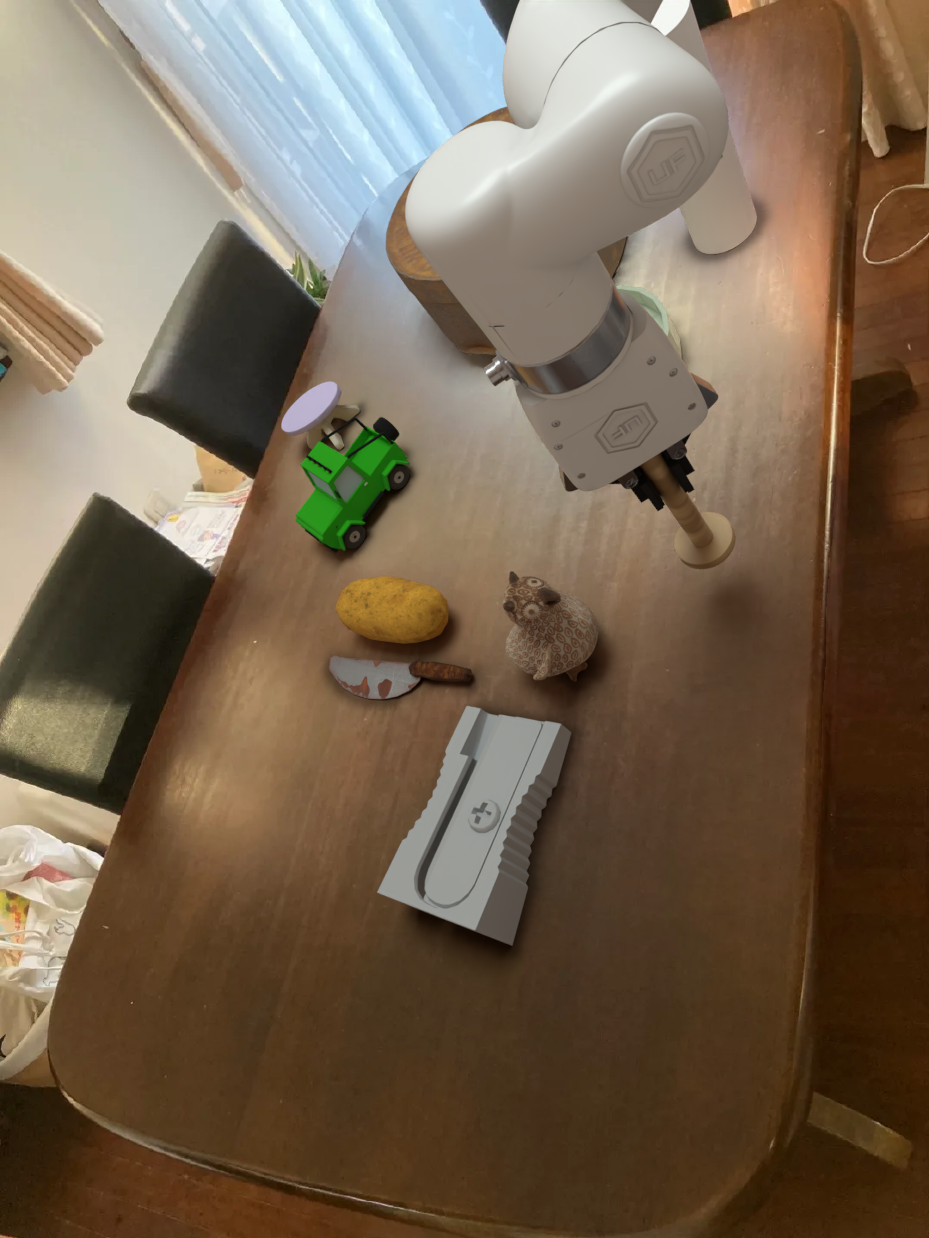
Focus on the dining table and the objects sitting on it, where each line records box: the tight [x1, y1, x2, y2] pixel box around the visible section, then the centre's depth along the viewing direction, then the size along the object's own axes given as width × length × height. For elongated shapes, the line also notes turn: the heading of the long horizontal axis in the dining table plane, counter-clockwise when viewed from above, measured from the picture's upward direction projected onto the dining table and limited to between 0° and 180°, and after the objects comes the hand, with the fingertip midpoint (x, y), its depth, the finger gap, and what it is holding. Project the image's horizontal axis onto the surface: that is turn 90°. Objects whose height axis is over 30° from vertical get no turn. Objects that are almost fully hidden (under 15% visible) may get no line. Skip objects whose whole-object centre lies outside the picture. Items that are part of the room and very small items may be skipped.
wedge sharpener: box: [376, 705, 572, 947], centre depth 76 cm, size 11×20×7 cm, turn 159°
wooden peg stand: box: [639, 453, 737, 570], centre depth 64 cm, size 5×5×15 cm
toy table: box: [280, 381, 361, 451], centre depth 114 cm, size 10×9×6 cm
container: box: [385, 106, 627, 356], centre depth 103 cm, size 28×28×15 cm
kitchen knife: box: [328, 653, 474, 700], centre depth 92 cm, size 21×2×5 cm
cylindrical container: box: [651, 0, 758, 255], centre depth 84 cm, size 7×7×25 cm
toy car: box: [295, 416, 411, 554], centre depth 103 cm, size 8×17×10 cm, turn 136°
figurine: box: [502, 570, 599, 683], centre depth 76 cm, size 9×10×15 cm
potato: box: [335, 575, 450, 645], centre depth 92 cm, size 7×14×7 cm, turn 68°
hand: (668, 486), depth 63 cm, fingers closed on wooden peg stand
